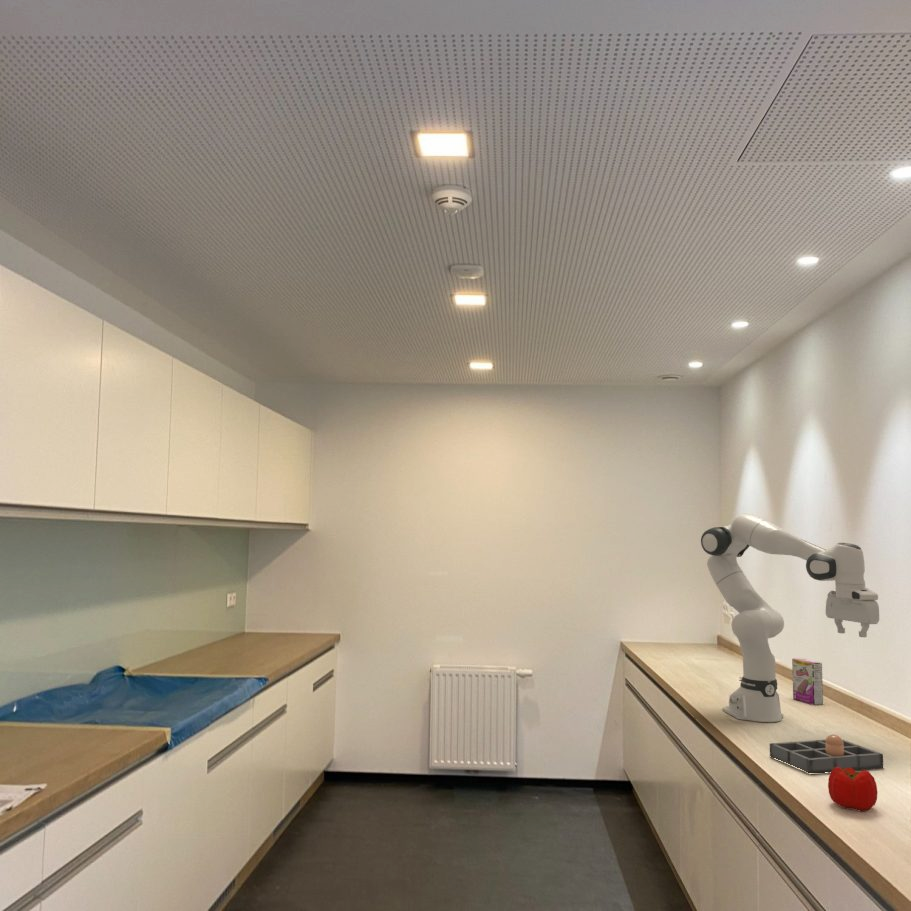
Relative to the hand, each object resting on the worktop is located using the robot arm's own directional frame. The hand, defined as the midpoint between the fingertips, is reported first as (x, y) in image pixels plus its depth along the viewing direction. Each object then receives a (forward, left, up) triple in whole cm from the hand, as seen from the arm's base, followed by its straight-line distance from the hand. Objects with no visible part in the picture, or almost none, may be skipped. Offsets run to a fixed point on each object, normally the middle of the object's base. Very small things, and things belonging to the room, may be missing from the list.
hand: (851, 635), depth 259 cm
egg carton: (+17, -26, -34) cm, 46 cm away
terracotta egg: (+21, -26, -33) cm, 47 cm away
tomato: (+50, -46, -34) cm, 76 cm away
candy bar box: (-54, +26, -34) cm, 69 cm away
